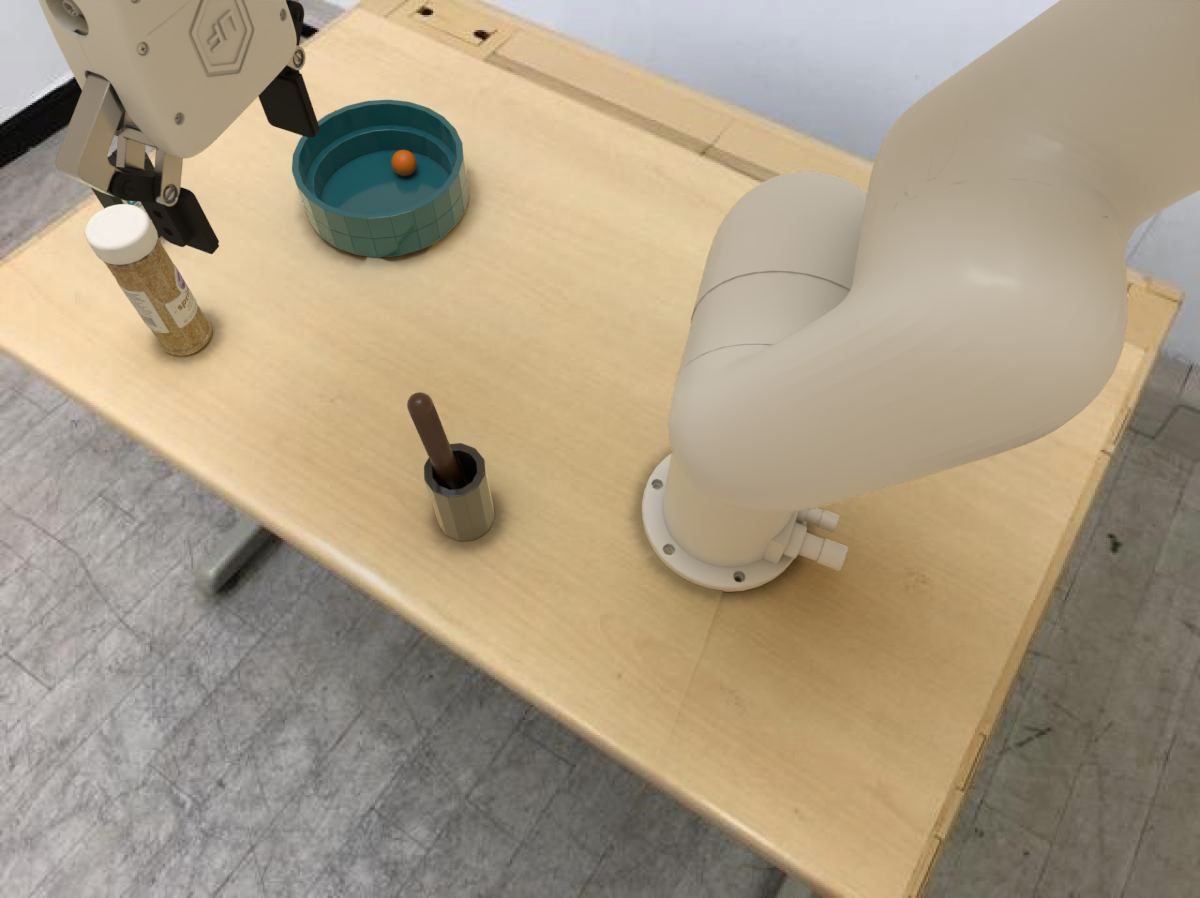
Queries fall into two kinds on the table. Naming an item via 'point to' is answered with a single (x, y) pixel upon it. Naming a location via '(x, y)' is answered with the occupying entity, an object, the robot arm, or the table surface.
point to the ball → (404, 163)
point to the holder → (462, 496)
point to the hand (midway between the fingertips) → (246, 183)
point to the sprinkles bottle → (148, 277)
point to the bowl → (382, 178)
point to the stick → (435, 440)
